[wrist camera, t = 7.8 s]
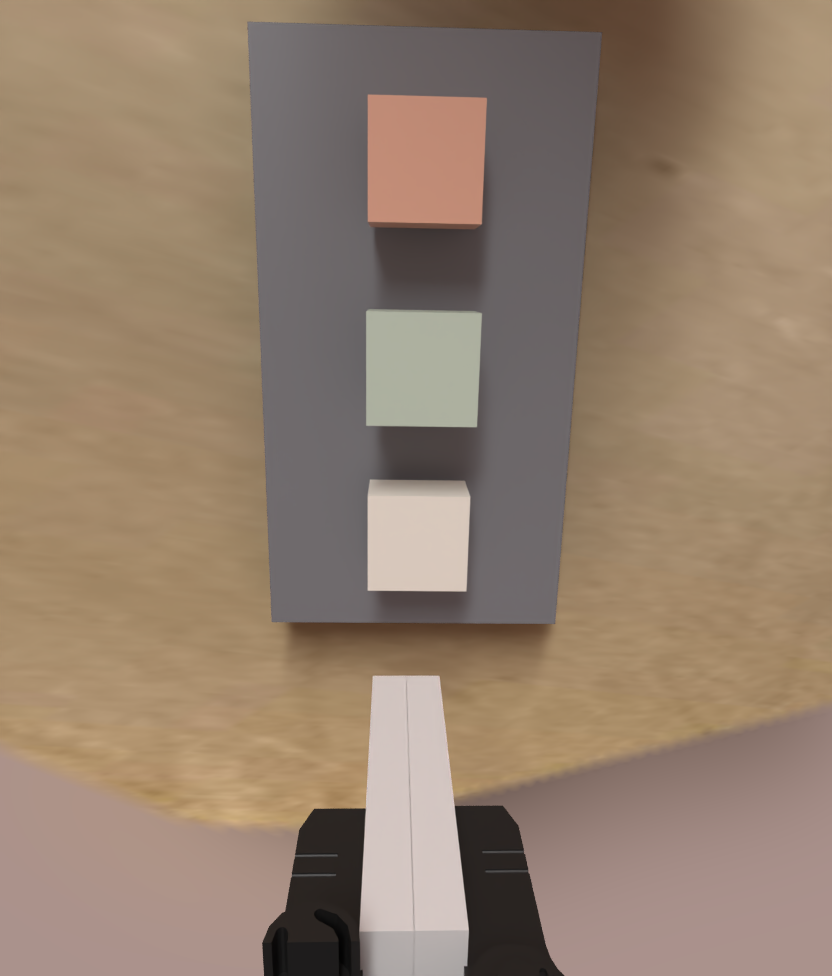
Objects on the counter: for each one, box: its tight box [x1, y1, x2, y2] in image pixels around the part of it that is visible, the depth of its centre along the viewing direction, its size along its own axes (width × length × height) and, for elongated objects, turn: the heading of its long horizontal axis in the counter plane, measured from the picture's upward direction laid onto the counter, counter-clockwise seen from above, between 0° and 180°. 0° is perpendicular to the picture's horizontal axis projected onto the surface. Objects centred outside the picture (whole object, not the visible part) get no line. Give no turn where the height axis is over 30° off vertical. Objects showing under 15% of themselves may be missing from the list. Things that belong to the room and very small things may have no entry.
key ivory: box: [368, 480, 470, 591], centre depth 31 cm, size 4×4×5 cm
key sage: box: [366, 309, 482, 427], centre depth 28 cm, size 4×4×5 cm
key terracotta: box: [368, 95, 487, 229], centre depth 27 cm, size 4×4×5 cm
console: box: [248, 22, 602, 624], centre depth 31 cm, size 13×24×3 cm, turn 179°
